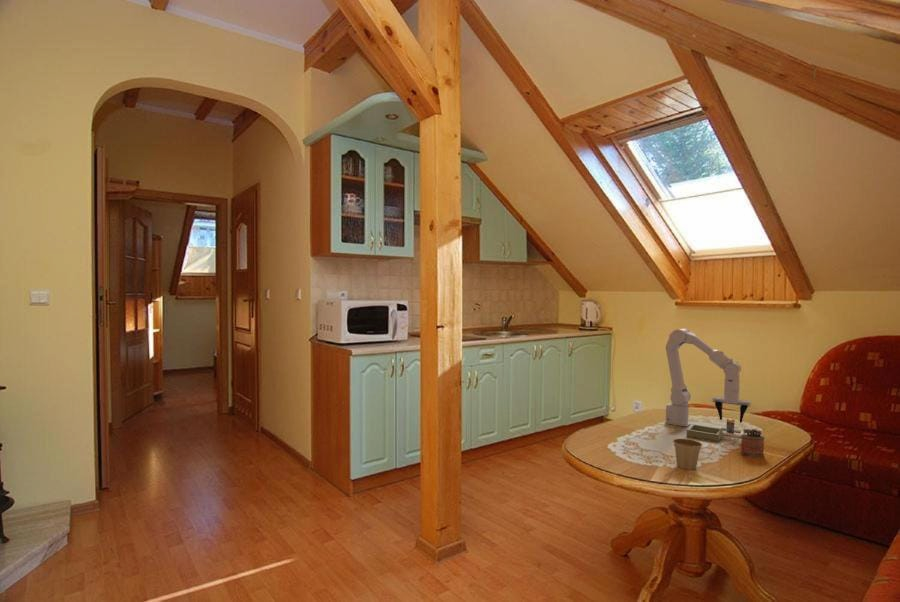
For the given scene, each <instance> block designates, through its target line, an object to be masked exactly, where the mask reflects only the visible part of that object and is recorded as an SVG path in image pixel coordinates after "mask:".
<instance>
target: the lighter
mask: <svg viewBox="0 0 900 602" xmlns="http://www.w3.org/2000/svg"><path fill="white" fill-rule="evenodd" d="M742 430H743V432H744V435H741V437H742V438H741V447H740V449H741V450H740V456H742V457H746V458H747V457H748V458H765V454H764V446H765V445H764V443H765V438H766V437H765V436H763V435H762V430H760V429H755V428H751V429H750V428H748V429H747V428H744V429H742Z"/></svg>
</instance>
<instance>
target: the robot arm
mask: <svg viewBox="0 0 900 602" xmlns="http://www.w3.org/2000/svg"><path fill="white" fill-rule="evenodd" d="M684 344H687V345H694V346H695V347H696V348H698V349H699V350H700V351H701V352H703V353H704V354H706V355H707V356H708V359H709V361H711V362H712V363H713V364H714V365H716V366H717V367H718V368H719V369H721V370H722V371H723V373H724V384H723V385H724V387H723V388H724V391H723V392H724V393H723V397H716V396H713V397H712V400H711V401H712V403H714V406H715V408H716V410H717V413H718V416H719V417H718V418H719V420H723V404H726V405H727V404H728V405H735V406H740V407H739V412H740V413H739V414H740V415H739V424H740V423H743V419H744V416H745V413H746V412H747V410H748V407H749V408H750V407H752V402H751V401H747V400H742V399H740V382H741V381H740V373H741V371H742V366H741V365H740V363H739V362H738V361H735V360H734V359H733V358H730V357H728V356H727V355H726V354H725V352H724V351H723V350H719V349H713V348H712V347H711V346H710V345H709V344H708V343H706V342H705V341H703V340H702V339H701V338H700V337H699V336H698V335H697V334H695V333H694V332H692V331H690V330H688V329H687V328H679V329H678V328H677V329H674V330H672V332H670V334H669V335H668V340H667V342H666V345H665V353H666V357H667V364H668V368H669V374H670V378H671V379H670V380H671V387H670V388H671V389H670V390H671V391H670V392H671V393H670V397H669V398H670V399H669V400H670V401H671V403H667V404H666V407H665V422H664V424H667V425H674V426H681V427H688V426H689V425H690V424H691V422H690V421H689V411H690V407H689V405H690V404H689V401H690V399H691V393H690V392H689V390H688V386H687V385H686V383H685V380H684V374H683V370H682V365H681V358H680V354H679V349H680V348H681V347H682V346H683V345H684Z"/></svg>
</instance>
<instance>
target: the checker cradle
mask: <svg viewBox="0 0 900 602" xmlns="http://www.w3.org/2000/svg"><path fill="white" fill-rule="evenodd" d="M718 428H720V429H723V436H727V435H728V436H729V437H734V438H740V439H742V437H741V435H745V433H744V432H743V430H744V429H738V428H734V434H733V433H727V432H726V427H725V426H718ZM739 432H740V433H739ZM737 433H739V434H737Z"/></svg>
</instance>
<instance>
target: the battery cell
mask: <svg viewBox="0 0 900 602" xmlns="http://www.w3.org/2000/svg"><path fill="white" fill-rule="evenodd" d="M725 428H726V430H725V432H727V433H733V434H735V432H734V429H735V419H733V418H726V427H725Z"/></svg>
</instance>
